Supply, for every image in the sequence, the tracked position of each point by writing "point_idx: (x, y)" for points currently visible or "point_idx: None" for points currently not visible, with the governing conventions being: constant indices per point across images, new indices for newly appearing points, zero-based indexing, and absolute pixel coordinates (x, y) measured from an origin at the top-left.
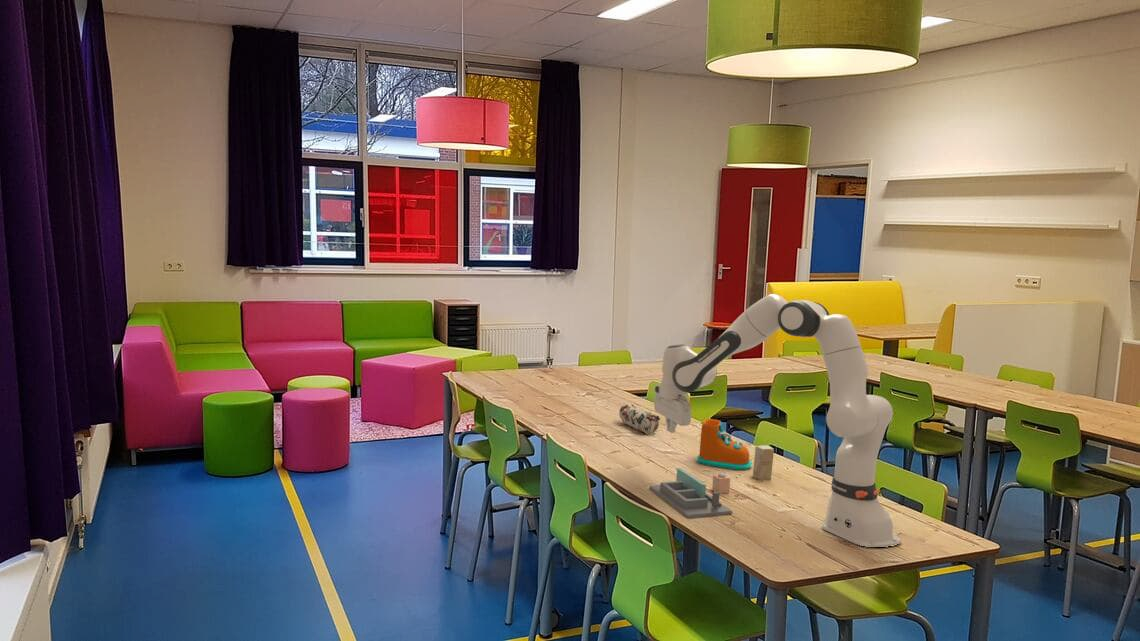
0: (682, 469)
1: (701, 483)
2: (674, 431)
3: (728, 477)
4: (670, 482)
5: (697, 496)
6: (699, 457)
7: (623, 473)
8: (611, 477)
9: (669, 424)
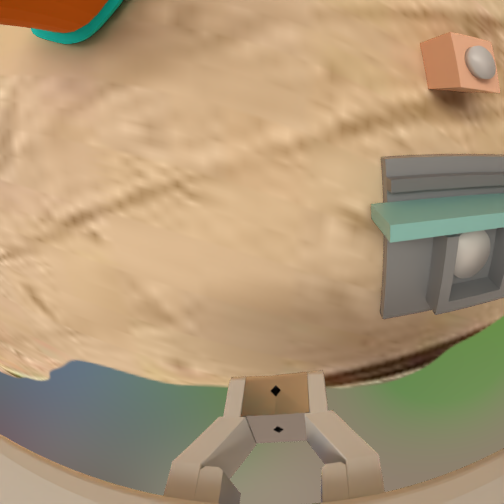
0: (414, 224)
1: None
2: (322, 378)
3: (486, 44)
4: (447, 283)
5: None
6: (71, 33)
7: (224, 345)
8: None
9: (241, 444)
